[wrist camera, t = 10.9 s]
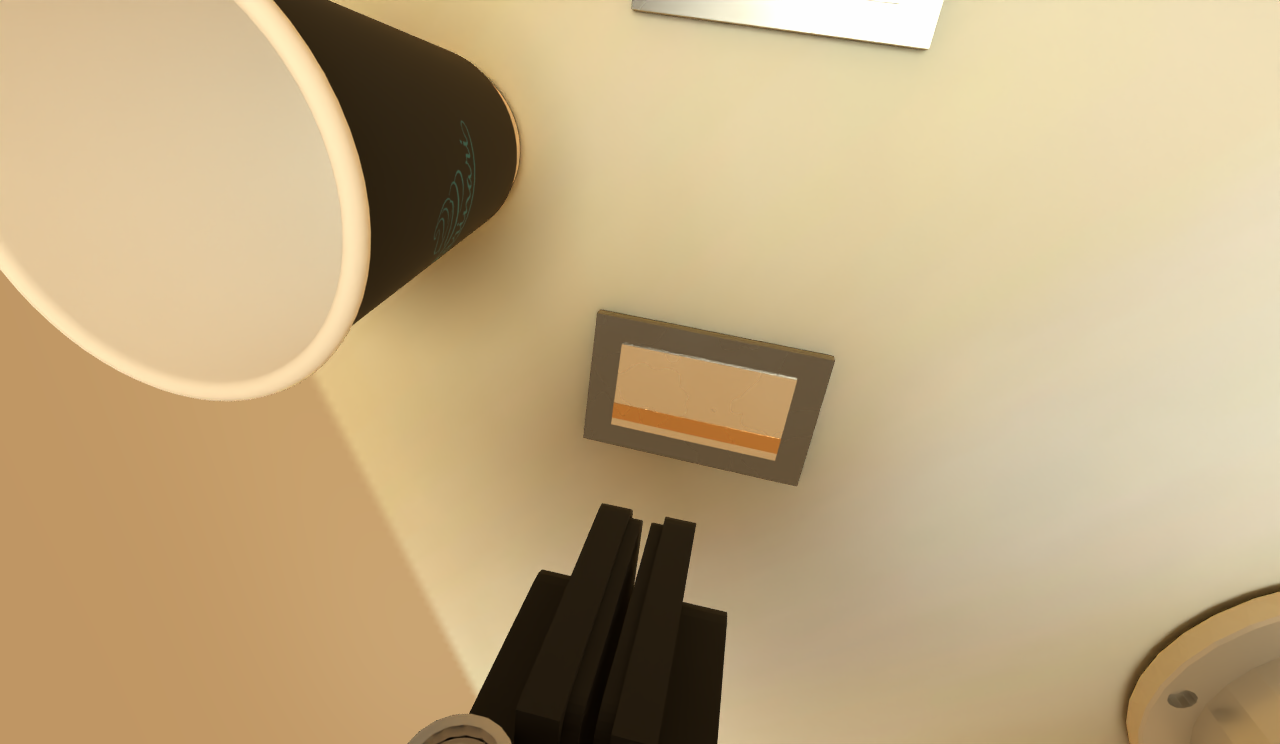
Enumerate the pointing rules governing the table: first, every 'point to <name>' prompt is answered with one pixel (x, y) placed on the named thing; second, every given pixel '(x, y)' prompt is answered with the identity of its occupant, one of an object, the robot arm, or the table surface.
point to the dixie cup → (232, 178)
